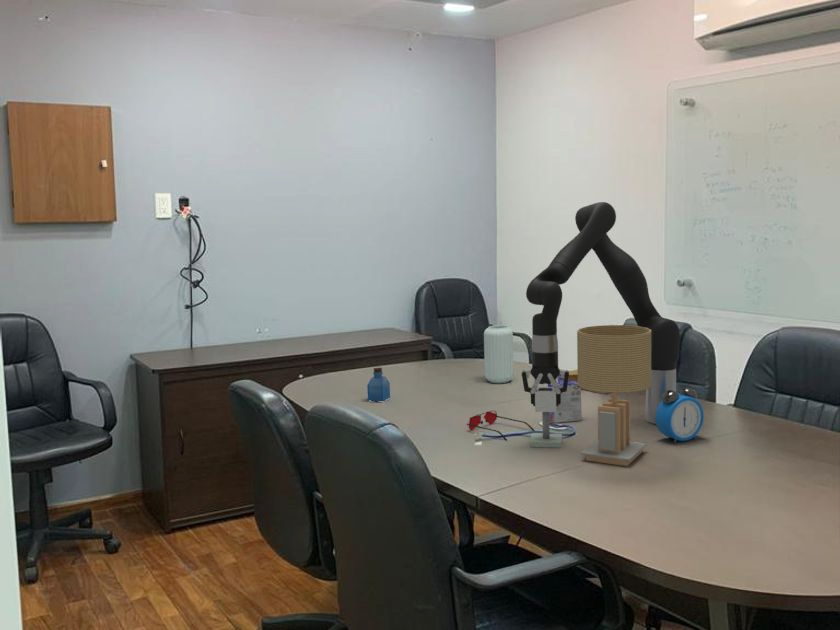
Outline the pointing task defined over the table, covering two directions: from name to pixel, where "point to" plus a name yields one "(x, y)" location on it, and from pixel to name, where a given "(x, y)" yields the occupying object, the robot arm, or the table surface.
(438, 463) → the table surface
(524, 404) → the table surface
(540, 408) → the grey hollow cube
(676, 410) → the alarm clock
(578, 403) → the ink cartridge box
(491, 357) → the vase
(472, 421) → the glasses
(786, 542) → the table surface
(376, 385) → the perfume bottle
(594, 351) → the desk lamp
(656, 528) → the table surface
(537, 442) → the shaft block
